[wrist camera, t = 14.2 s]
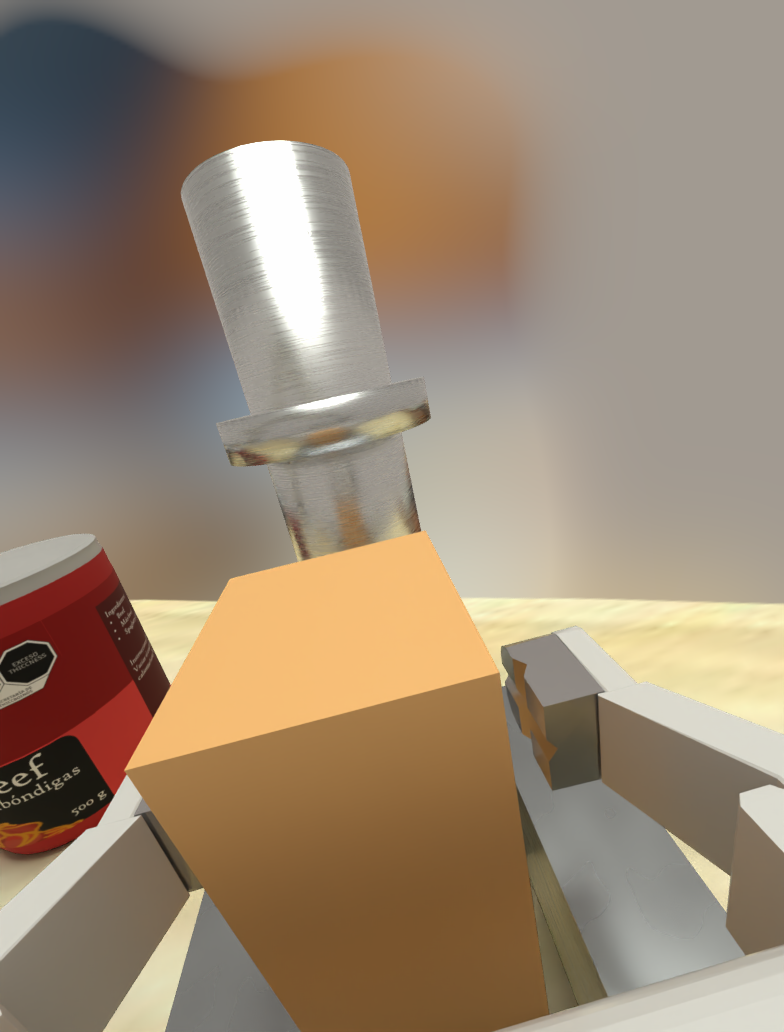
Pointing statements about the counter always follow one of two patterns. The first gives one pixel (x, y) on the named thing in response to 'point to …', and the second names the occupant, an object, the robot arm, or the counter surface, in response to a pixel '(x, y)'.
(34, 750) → the canned food
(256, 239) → the grey socket with post
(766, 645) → the counter surface
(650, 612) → the counter surface
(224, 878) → the tall orange pillar block
